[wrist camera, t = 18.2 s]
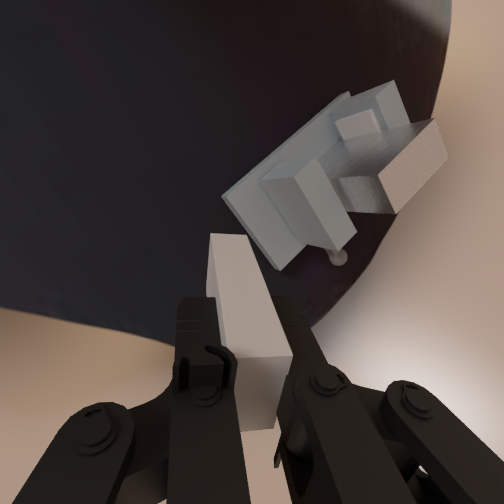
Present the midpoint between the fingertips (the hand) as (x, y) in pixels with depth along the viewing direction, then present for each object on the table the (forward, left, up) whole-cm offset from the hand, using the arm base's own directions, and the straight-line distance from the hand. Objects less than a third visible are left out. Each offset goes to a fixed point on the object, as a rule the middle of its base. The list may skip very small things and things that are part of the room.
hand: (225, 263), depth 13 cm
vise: (+8, +17, -19) cm, 27 cm away
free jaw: (+10, +13, -18) cm, 24 cm away
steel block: (+8, +19, -18) cm, 27 cm away
